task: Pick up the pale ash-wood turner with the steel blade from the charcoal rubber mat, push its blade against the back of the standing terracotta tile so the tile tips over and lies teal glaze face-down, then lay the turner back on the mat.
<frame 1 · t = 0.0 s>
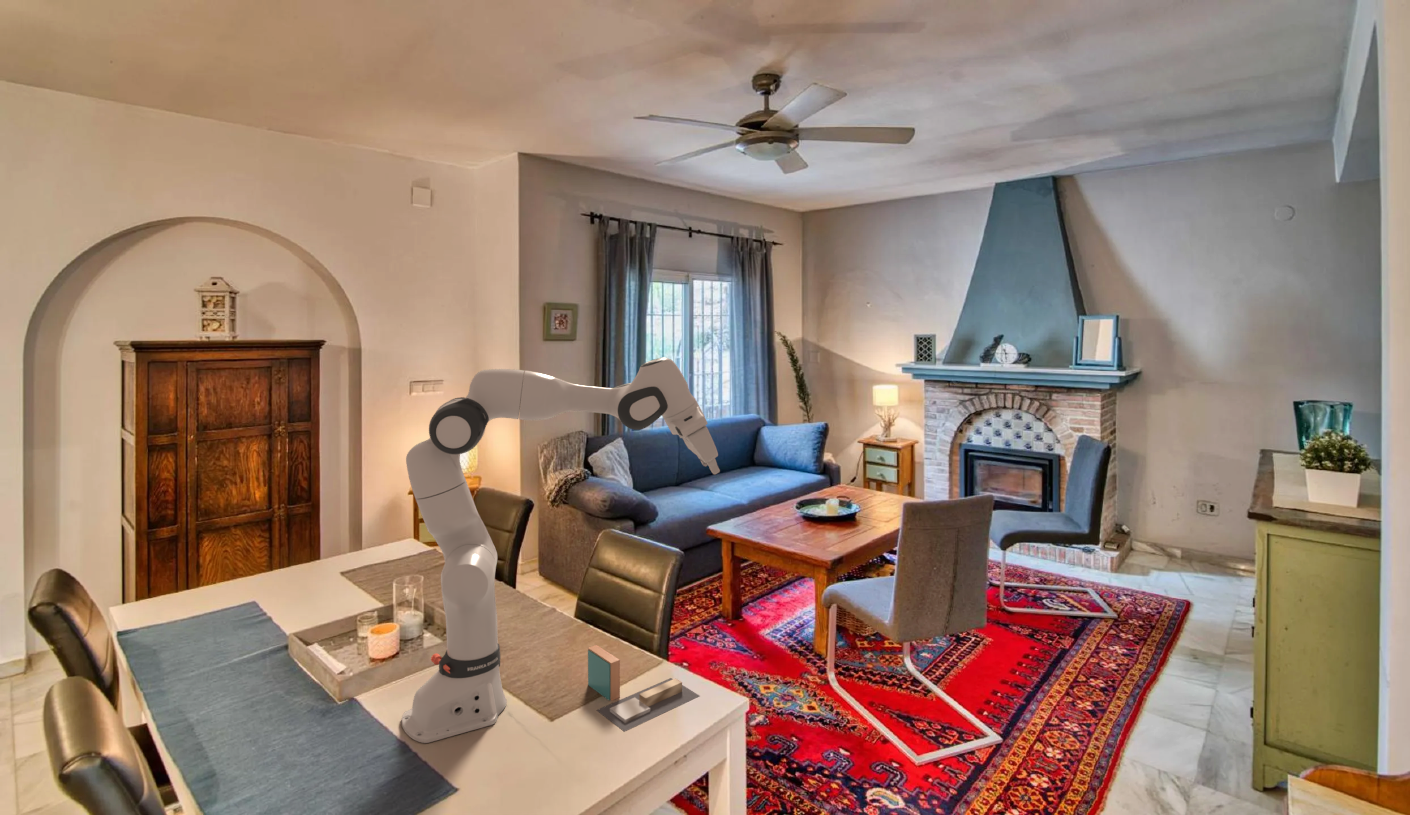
hand: (711, 468, 164), 54 cm above the table, tool tilted 30°, fingers open, 8 cm apart
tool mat: (649, 705, 159), on the table
tile: (603, 692, 164), on the table
turner: (645, 704, 158), point 1 cm above the table, touching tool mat
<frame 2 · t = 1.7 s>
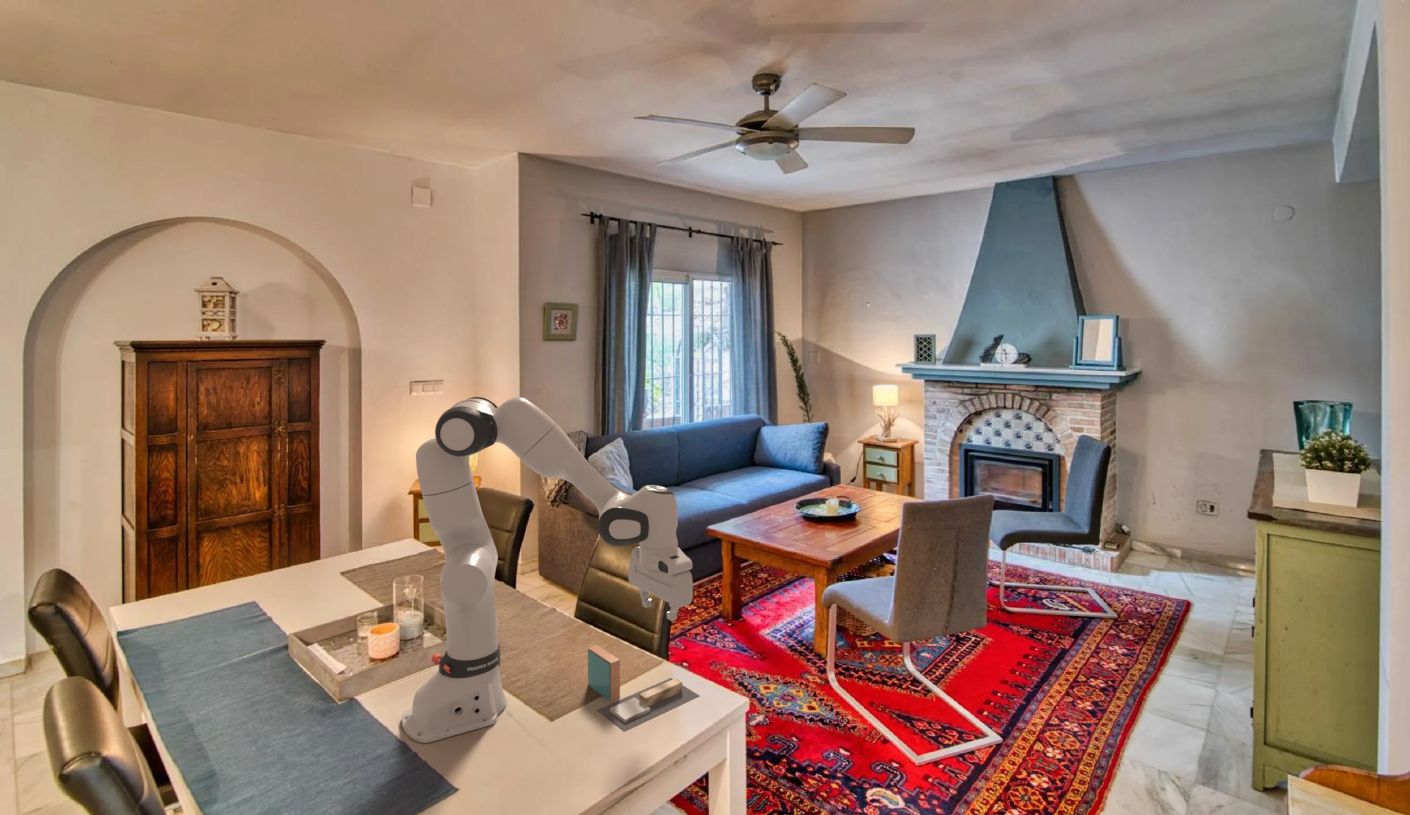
hand: (659, 612, 158), 22 cm above the table, tool pointing down, fingers open, 8 cm apart
nothing on the table moved.
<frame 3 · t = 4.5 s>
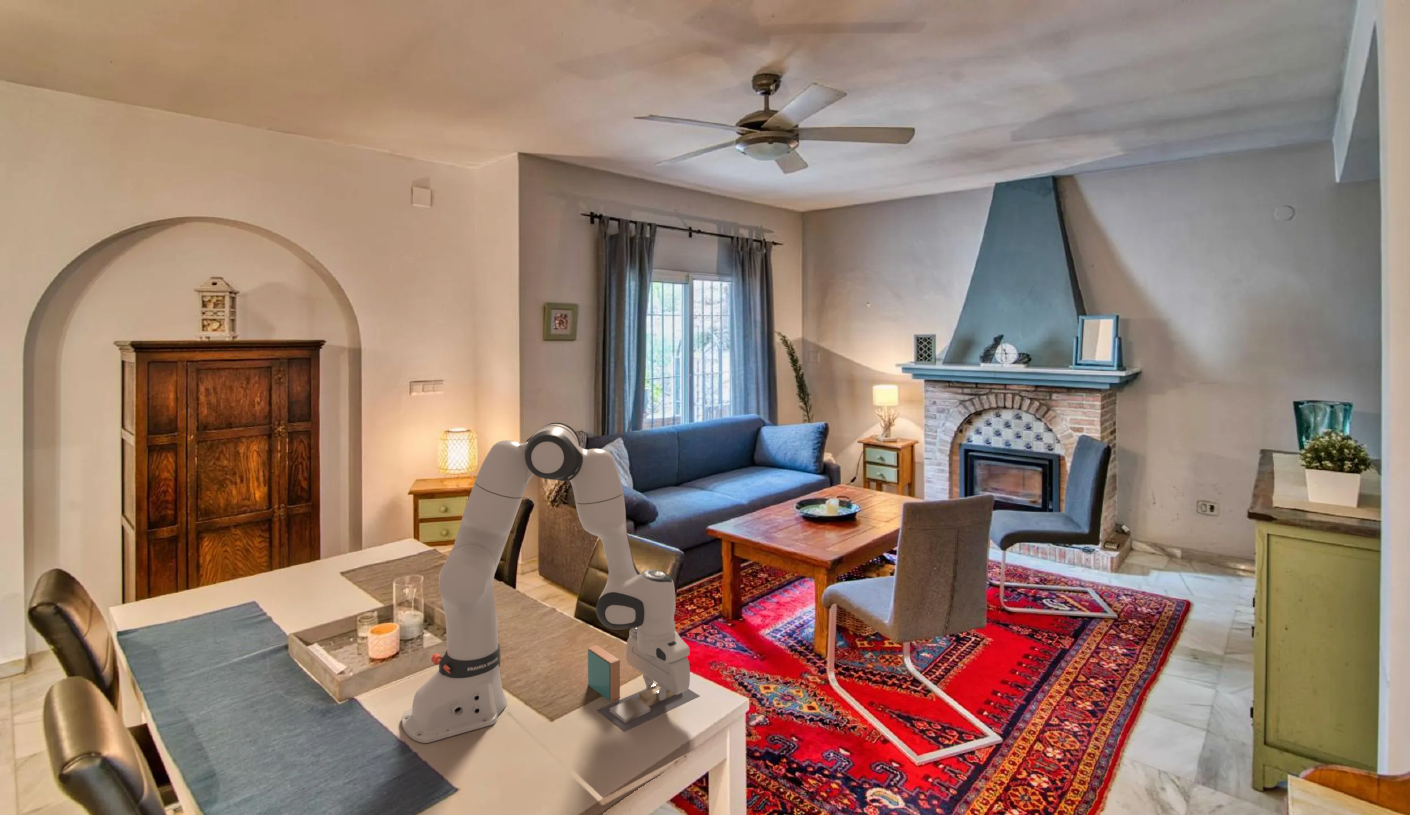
hand: (655, 695, 160), 2 cm above the table, tool pointing down, fingers closed on turner, 2 cm apart
turner: (645, 704, 158), point 1 cm above the table, touching gripper, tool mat
everything else where it was.
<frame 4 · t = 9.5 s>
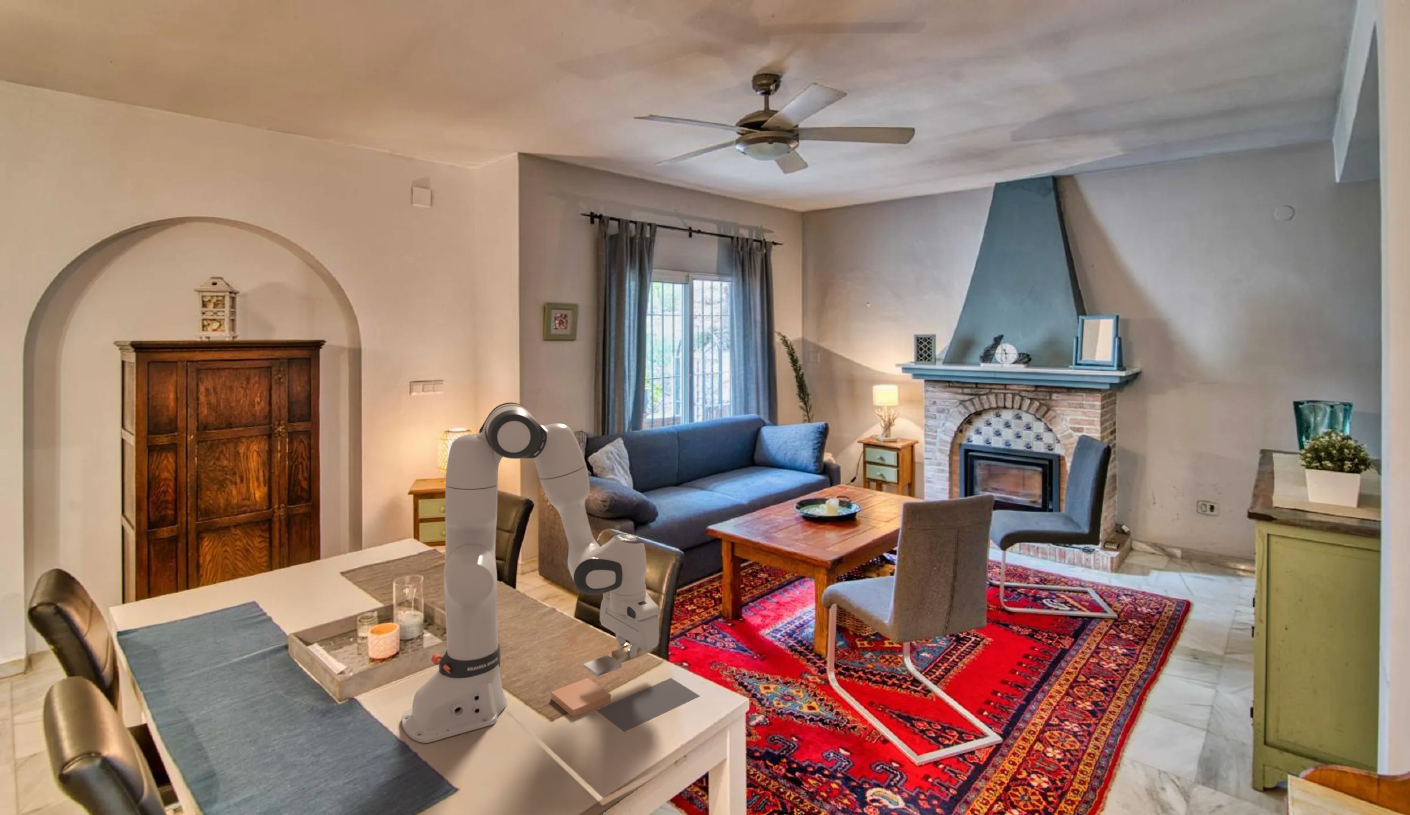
hand: (627, 653, 168), 8 cm above the table, tool pointing down, fingers closed on turner, 2 cm apart
tile: (598, 690, 163), point 1 cm above the table, tilted 90°
turner: (617, 661, 166), point 6 cm above the table, touching gripper
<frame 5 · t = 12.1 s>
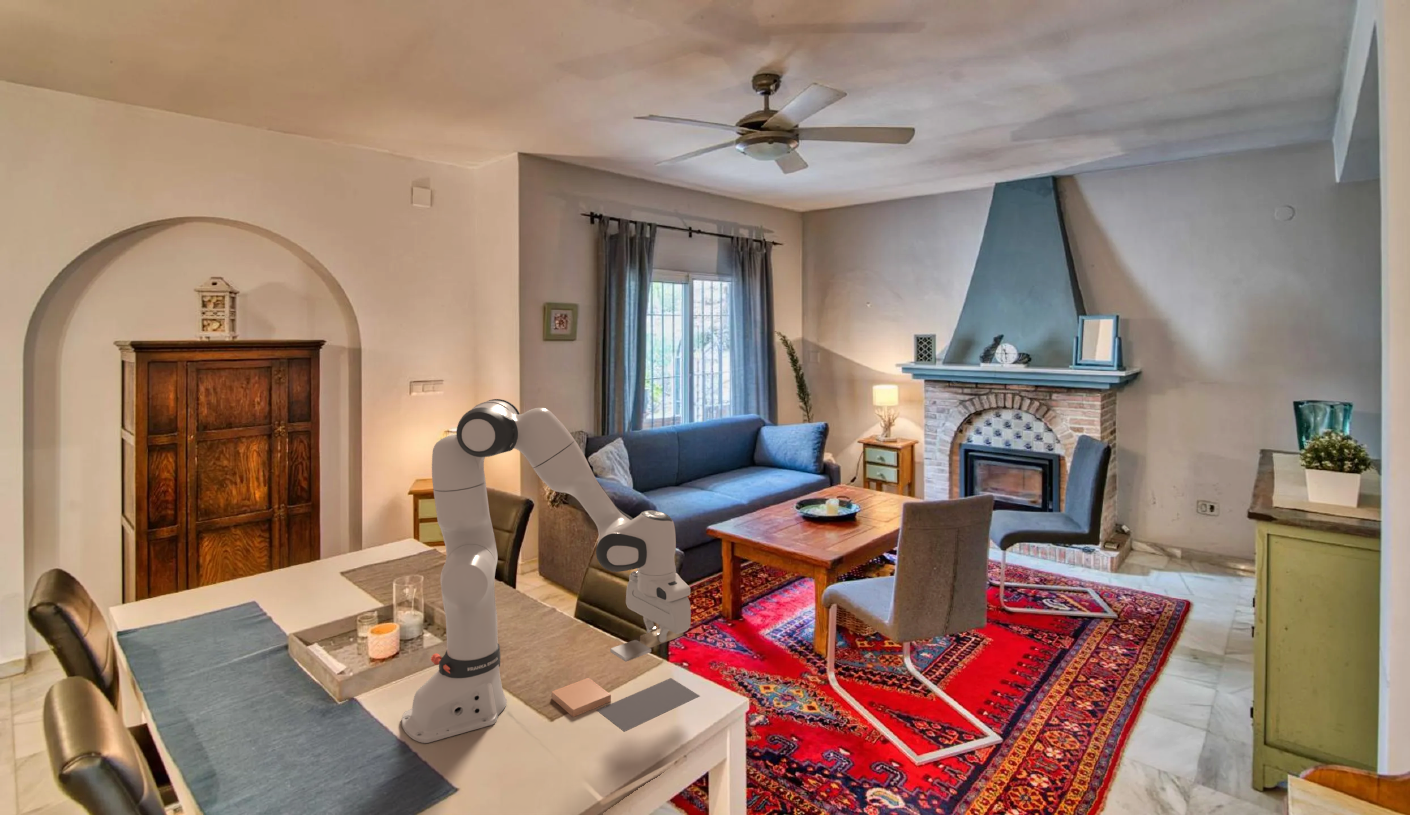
hand: (656, 637, 158), 16 cm above the table, tool pointing down, fingers closed on turner, 2 cm apart
turner: (646, 646, 156), point 15 cm above the table, touching gripper
everything else where it was.
when the fingers open (3 cm above the table, at t = 14.4 s): turner drops 2 cm, resting on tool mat.
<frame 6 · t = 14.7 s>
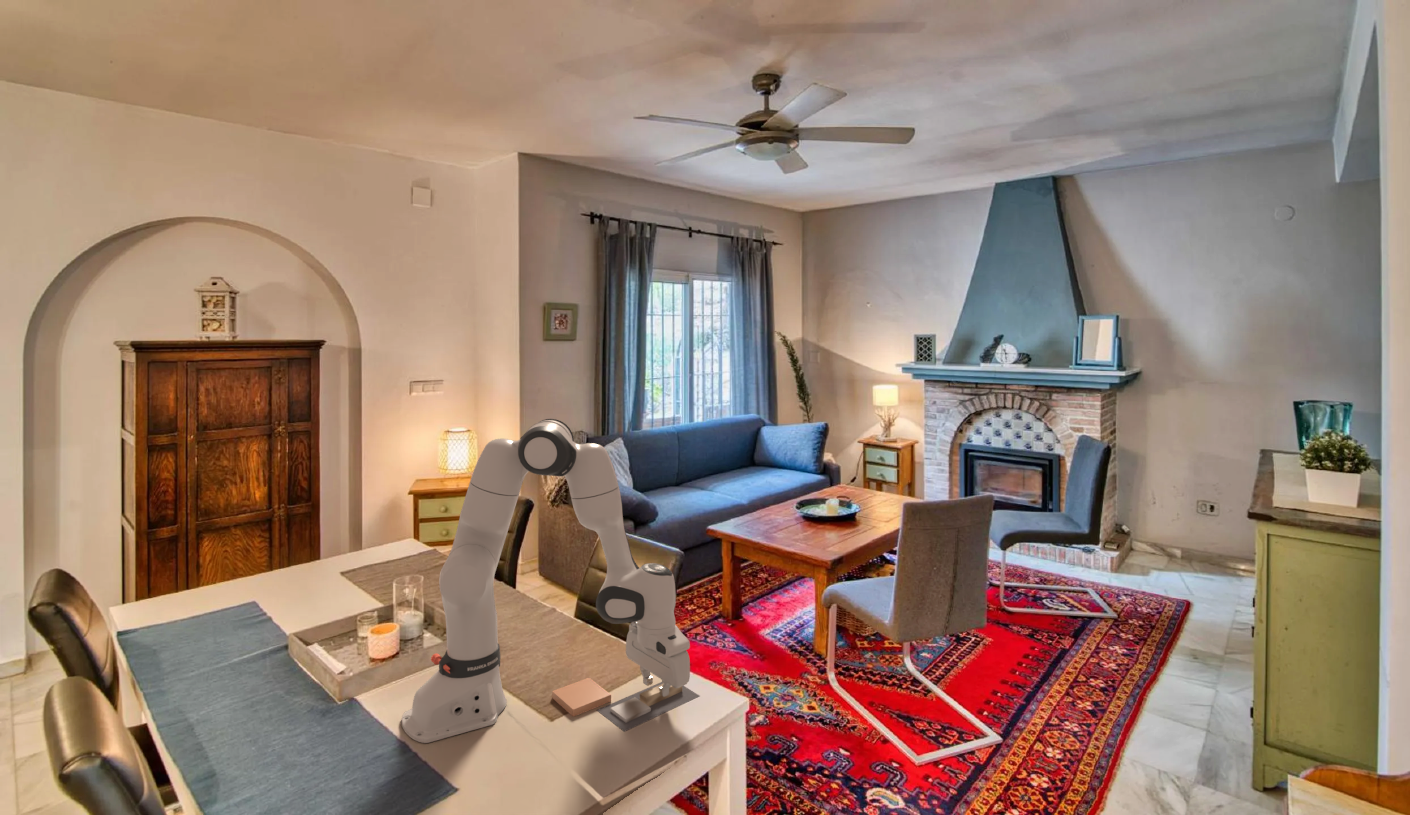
hand: (655, 689, 160), 3 cm above the table, tool pointing down, fingers open, 5 cm apart
turner: (646, 703, 158), point 1 cm above the table, touching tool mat
everything else where it was.
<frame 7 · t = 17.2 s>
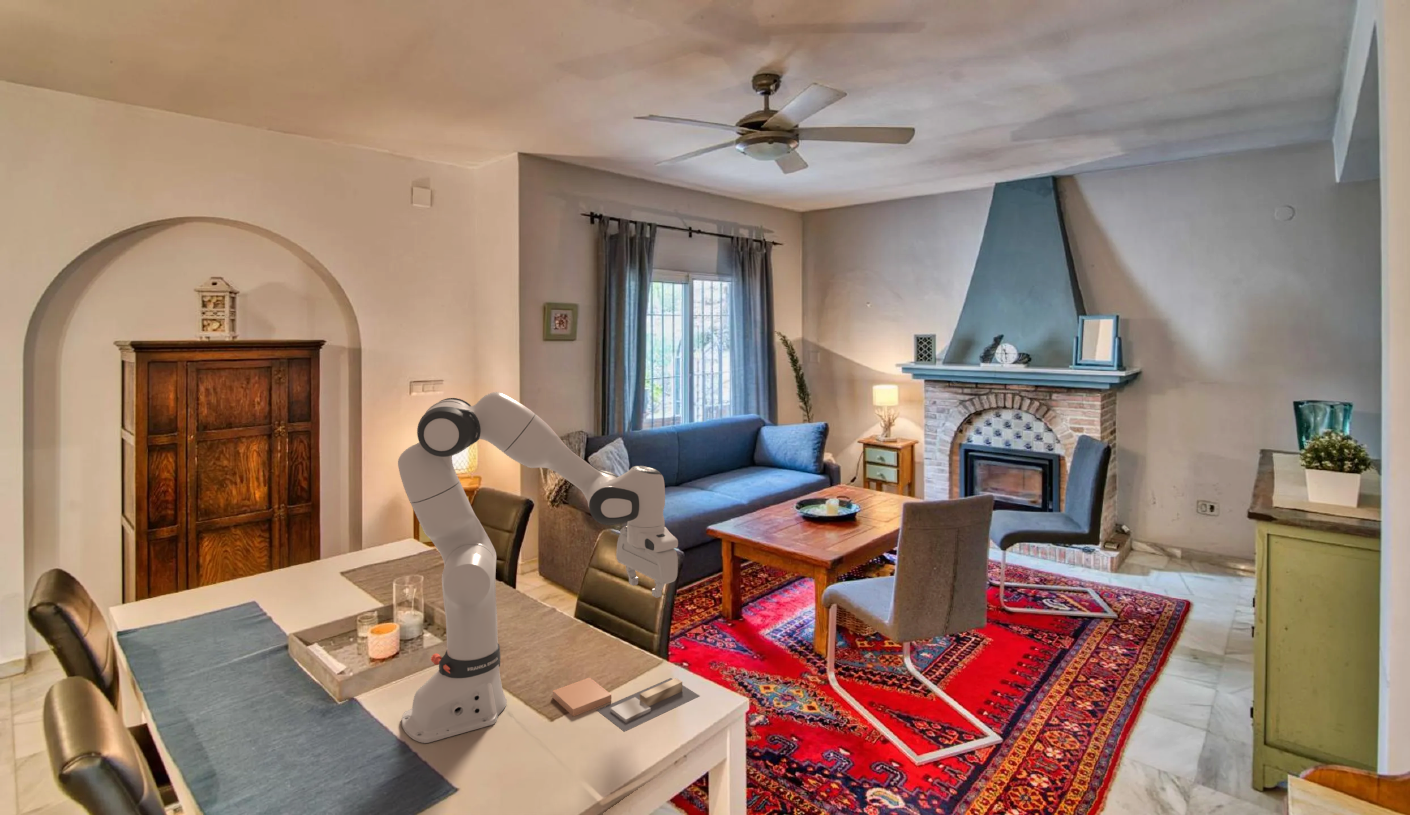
hand: (644, 590, 162), 25 cm above the table, tool pointing down, fingers open, 8 cm apart
nothing on the table moved.
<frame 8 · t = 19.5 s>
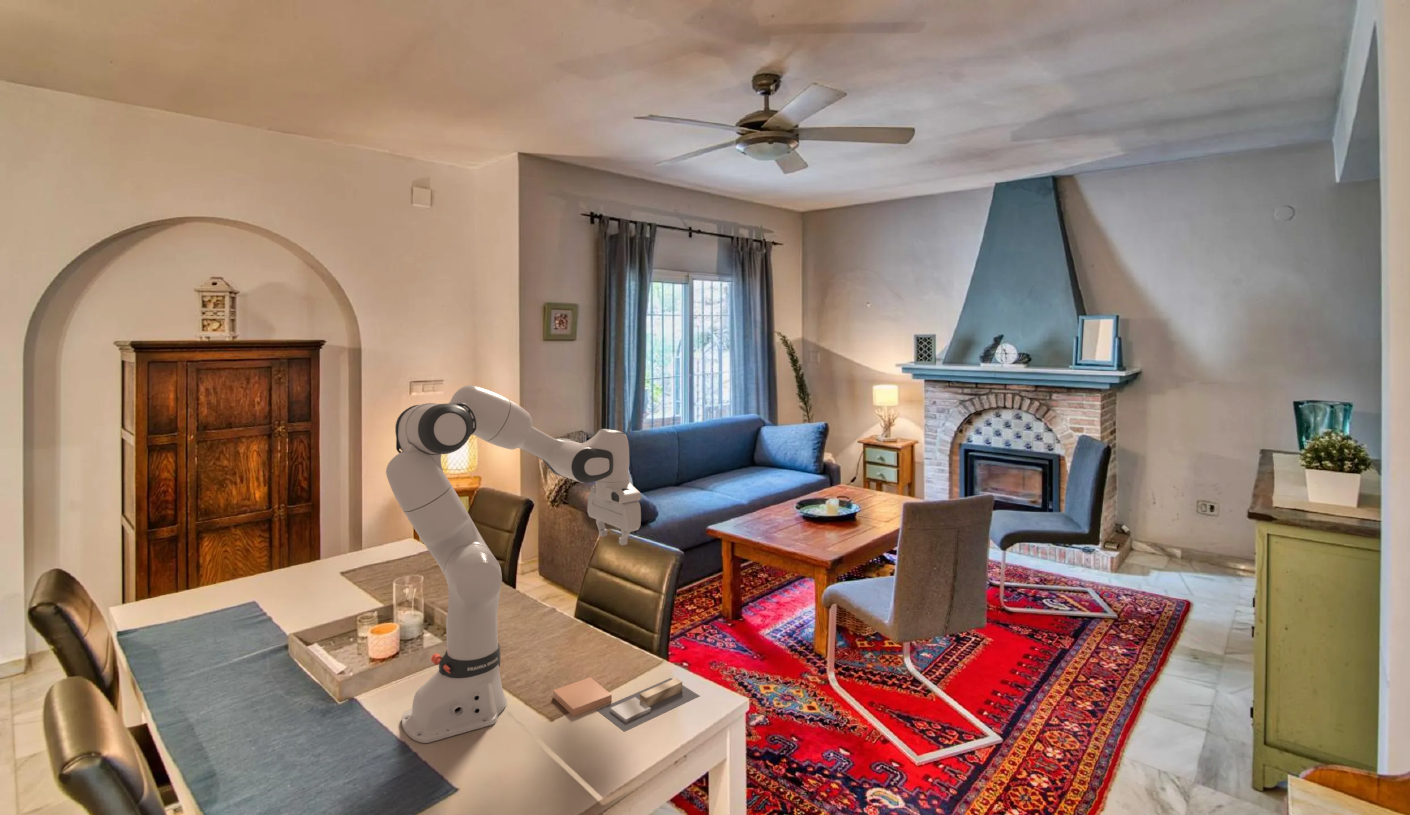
hand: (612, 539, 182), 31 cm above the table, tool pointing down, fingers open, 8 cm apart
nothing on the table moved.
at the end: tile tilted 90°; tile inside the target area (6.1 cm from its centre), point 1.1 cm above the table; turner inside the target area (0.9 cm from its centre), point 0.6 cm above the table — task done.
